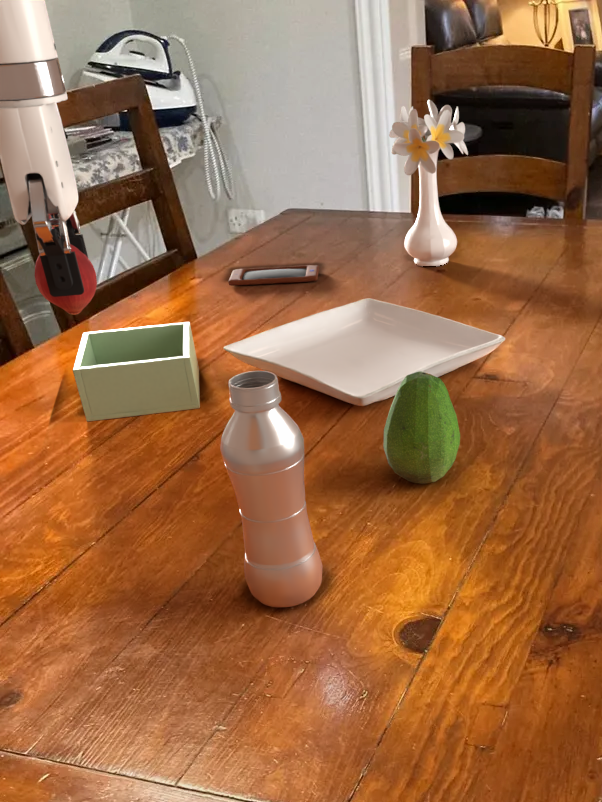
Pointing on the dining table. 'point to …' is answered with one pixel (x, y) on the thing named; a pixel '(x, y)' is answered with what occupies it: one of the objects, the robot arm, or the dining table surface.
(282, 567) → the plastic bottle
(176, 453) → the dining table surface
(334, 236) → the dining table surface
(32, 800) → the dining table surface
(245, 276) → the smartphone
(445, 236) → the flower vase
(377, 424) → the dining table surface
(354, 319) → the square plate
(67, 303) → the onion
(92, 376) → the veg bin
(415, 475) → the avocado
